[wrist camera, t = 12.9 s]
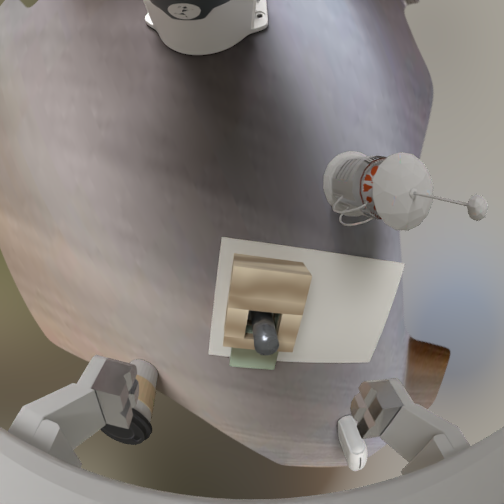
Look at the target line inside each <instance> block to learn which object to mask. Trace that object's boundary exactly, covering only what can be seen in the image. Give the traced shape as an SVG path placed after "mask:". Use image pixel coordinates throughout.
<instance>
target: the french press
mask: <svg viewBox="0 0 504 504" xmlns="http://www.w3.org/2000/svg"><path fill="white" fill-rule="evenodd" d="M370 157H371V158H370ZM374 157H376V158H374ZM372 158H374V159H376V160H374V159H372ZM377 158H379V159H377ZM323 190H324V193H325V195H326V198H327V201H328V202H329V204H330V205H331V206H332V207H333V208H332V209H333V211H334V212H336V213H339V214H341V215H340V217H339V221H340V223H341V224H343V225H344V226H354V225H359V224H363V223H366V222H368V221H370V220H373V219H382V220H383V221H384V222H385V224H387V225H388V226H390V227H392V228H393V229H395V230H410V229H412V228H414V227H416V226H418V225H420V224H421V222H422V221H423V220H424V219H425V218H426V216H427V215H428V213H429V210H430V208H431V205H432V203H433V199H438V200H443V201H447V202H451V203H456V204H460V205H464V206H468V207H467V208H468V214H469V216H470V217H471V218H472V219H473V220H476V221H478V220H481V219H483V218H484V217H485V216H486V213H487V209H488V206H487V202H486V200H485V198H484V197H483V196H481V195H477V194H474V195H472V196H471V198H470V199H469V201H468V203H464V202H460V201H455V200H450V199H446V198H441V197H436V196H433V184H432V179H431V175H430V173H429V171H428V170H427V168H426V166H425V165H424V163H423V162H422V161H421V160H419V159H418V158H417V157H415V156H414V155H413V154H408V153H402V152H399V153H396V154H393V155H390V156H388V157H382V156H366V155H364V154H363V153H361V152H353V151H347V152H344V153H342V154H339V155H337V156H336V157H335V158H334V159H333V160H332V161H331V162H330V163H329V164H328V166H327V169H326V171H325V173H324V176H323ZM367 213H369V214H367ZM342 215H345V216H355V217H359V216H361V215H364V216H367V215H372V216H367V217H369V219H367V220H365V221H362V222H358V223H354V224H345V223H343V222H342V220H341V217H342ZM375 217H376V218H375Z"/></svg>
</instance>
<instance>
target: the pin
mask: <svg viewBox="0 0 504 504" xmlns="http://www.w3.org/2000/svg"><path fill="white" fill-rule="evenodd" d="M250 312H251V321H252V330H253V339H254V348H255V350H256V352H257V353H259V354H260V355H271V354H273V353H275V352H276V351H277V350H278V348H279V341H278V337H277V333H276V329H275V325H274V321H273V317H272V313H271V312H261V311H252V310H250Z"/></svg>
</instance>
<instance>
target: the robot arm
mask: <svg viewBox="0 0 504 504" xmlns="http://www.w3.org/2000/svg"><path fill="white" fill-rule="evenodd" d="M143 1H144V4H145V6H146V9H147V11H148V13H147V15H146V16H145V21H146V24H147V25H149V26H150V27H152V28H154V29H155V30H156V31H157V32H158V34H159V36H160V38H161V40H162V41H163V42H164V43H165V44H166V45H167V46H168V47H169V48H171V49H173V50H175V51H177V52H180V53H184V54H189V55H206V54H212V53H217V52H220V51H223V50H225V49H228V48H230V47H232V46H234V45H235V44H237V43H238V42H239V41H241V40H242V39H243V38H244V37H246V36H247V35H249V34H251V33H254V32H258V31H261V30H263V29H265V28H266V27H267V26H268V14H267V2H266V0H143ZM257 16H261V18H258V17H257ZM136 375H137V368H136V365H134V364H130V363H126V362H122V361H118V360H114V359H111V358H106V357H103V356H99V355H95V356H93V358H92V359H91V361H90V362H89V364H88V366H87V367H86V369H85V371H84V373H83V374H82V376H81V378H80V379H79V381H78V383H77V384H75V383H72V384H70V385H68V386H66V387H64V388H62V389H59V390H57V391H55V392H53V393H51V394H49V395H47V396H44V397H42V398H40V399H38V400H36V401H34V402H32V403H29V404H27V405H25V406H23V407H22V409H21V410H20V412H19V414H18V415H17V417H16V418H15V420H14V422H13V423H12V425H11V427H10V428H9V430H8V431H6V430H4V429H3V428H1V427H0V504H504V427H502V428H501V429H499V430H498V431H496V432H494V433H493V434H491V435H490V436H488V437H486V438H485V439H483V440H481V441H479V442H477V443H476V444H474V445H472V446H470V445H469V443H468V441H467V440H466V439H465V437H464V435H463V434H462V432H461V431H460V429H459V428H458V426H456V425H454V424H452V423H450V422H449V421H447V420H445V419H443V418H441V417H440V416H438V415H436V414H434V413H433V412H431V411H429V410H428V409H426V408H424V407H422V406H421V405H419V404H414V402H413V401H412V399H411V398H410V396H409V394H408V393H407V391H406V390H405V388H404V387H403V385H402V384H401V382H400V381H399V380H398V379H397V378H391V379H382V380H372V381H364V382H363V383H361V385H360V387H359V391H360V392H359V393H358V394H357V395H355V396H354V398H353V400H352V402H351V414H352V417H353V419H355V420H356V421H358V424H357V429H358V431H359V434H360V436H361V439H366V438H372V437H378V436H380V438H381V439H382V440H383V441H385V442H386V443H387V444H388V445H389V446H390V447H392V448H393V449H394V450H395V451H396V452H397V453H399V454H400V455H401V456H402V457H403V458H404V459H406V460H407V461H408V462H409V463H408V464H407V465H406V466H405V467H404V468H403V469H402V471H401V473H402V476H399V477H396V478H393V479H389V480H386V481H383V482H379V483H375V484H371V485H367V486H363V487H359V488H355V489H350V490H345V491H340V492H334V493H328V494H321V495H314V496H306V497H296V498H284V499H259V500H247V499H244V500H243V499H219V498H207V497H198V496H188V495H182V494H176V493H170V492H164V491H159V490H154V489H149V488H145V487H140V486H136V485H132V484H128V483H125V482H121V481H118V480H114V479H111V478H108V477H105V476H102V475H99V474H96V473H93V472H90V471H87V470H85V469H82V468H81V465H82V463H81V461H80V460H79V458H78V457H77V455H76V454H75V452H74V450H73V449H74V448H76V447H77V446H78V445H80V444H81V443H82V442H84V441H85V440H86V439H88V438H89V437H90V436H92V435H93V434H94V433H96V432H97V431H98V430H100V429H101V428H102V427H104V426H105V425H106V424H110V425H114V426H118V427H122V428H126V429H129V426H130V423H131V420H132V417H133V413H132V408H134V407H135V406H136V404H137V401H138V396H139V382H138V381H137V380H136Z"/></svg>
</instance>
